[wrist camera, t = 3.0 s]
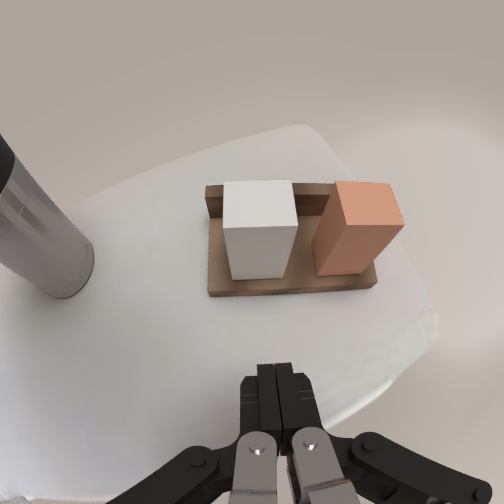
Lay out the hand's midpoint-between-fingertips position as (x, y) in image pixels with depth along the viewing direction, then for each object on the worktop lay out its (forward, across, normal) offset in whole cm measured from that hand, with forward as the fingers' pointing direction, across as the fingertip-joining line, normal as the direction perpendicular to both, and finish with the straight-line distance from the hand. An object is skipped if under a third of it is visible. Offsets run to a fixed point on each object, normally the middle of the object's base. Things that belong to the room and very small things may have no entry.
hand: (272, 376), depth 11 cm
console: (+20, -4, +1) cm, 21 cm away
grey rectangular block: (+17, 0, +1) cm, 17 cm away
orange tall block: (+17, -8, +1) cm, 19 cm away
